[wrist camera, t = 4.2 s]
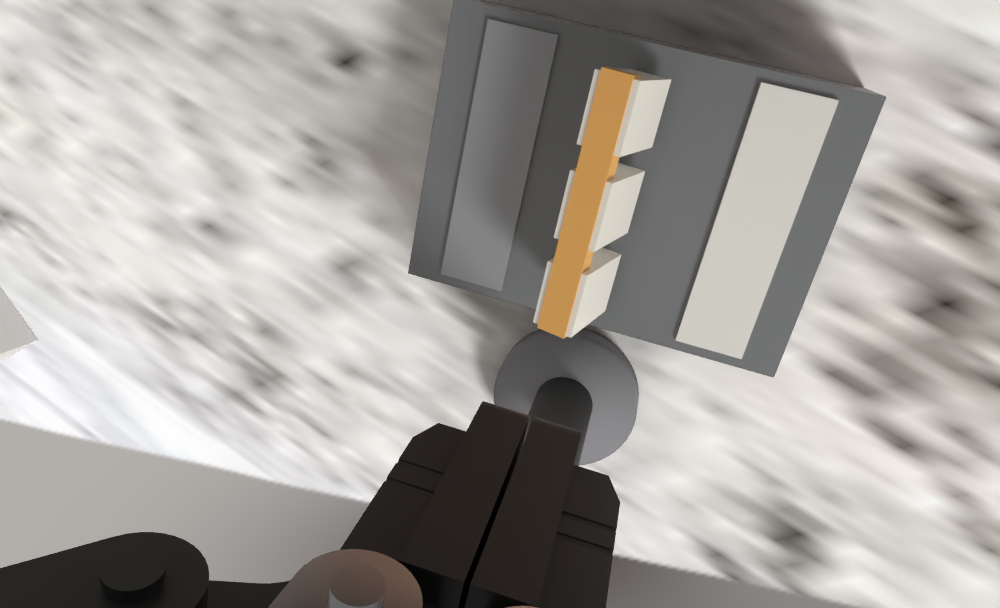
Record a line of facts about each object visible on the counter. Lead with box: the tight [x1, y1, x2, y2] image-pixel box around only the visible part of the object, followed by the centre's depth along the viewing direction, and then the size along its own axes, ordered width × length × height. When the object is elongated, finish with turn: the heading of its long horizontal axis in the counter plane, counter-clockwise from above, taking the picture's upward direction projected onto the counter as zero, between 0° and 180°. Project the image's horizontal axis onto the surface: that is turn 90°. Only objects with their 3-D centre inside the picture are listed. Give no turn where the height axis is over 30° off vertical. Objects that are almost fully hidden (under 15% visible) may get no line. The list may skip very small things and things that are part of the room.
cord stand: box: [494, 328, 639, 466], centre depth 23 cm, size 6×6×21 cm
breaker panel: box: [408, 0, 886, 377], centre depth 27 cm, size 14×10×3 cm
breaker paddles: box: [533, 67, 672, 339], centre depth 24 cm, size 1×8×3 cm, turn 169°
